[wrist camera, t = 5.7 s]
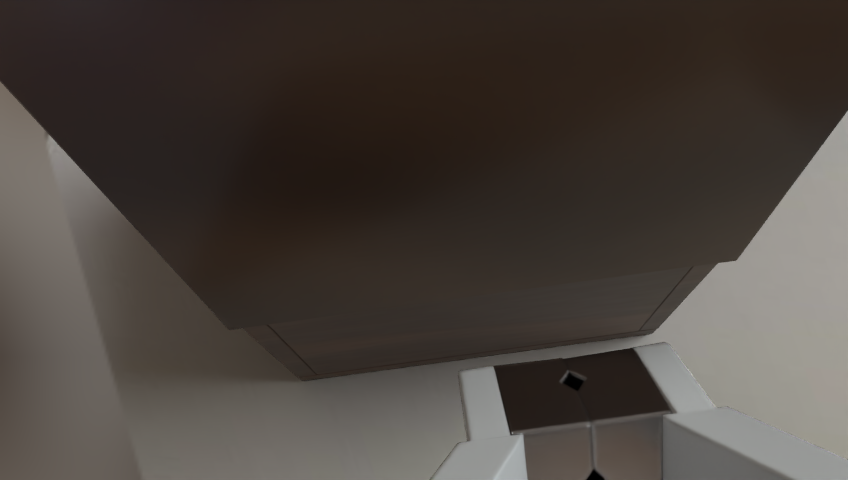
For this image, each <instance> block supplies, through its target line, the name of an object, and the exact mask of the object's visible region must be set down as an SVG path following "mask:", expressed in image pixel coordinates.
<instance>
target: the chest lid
mask: <svg viewBox="0 0 848 480" xmlns="http://www.w3.org/2000/svg"><path fill="white" fill-rule="evenodd" d="M0 82H1V83H2V84H3V85H4V86H5V87H6V88H7V89H8V90H9V92H10V93H11V94H12V95H13V96H14V97H15V98H16V99H17V100H18V101H19V102H20V103H21V104H22V105H23V107H24V108H25V109H26V110H27V111H28V112H29V113H30V114H31V115H32V117H34V119H35V120H36V121H37V122H38V123H39V124H40V125H41V126H42V127H43V128H44V130H45V131H46V132H47V133H48V134H49V135H50V136H51V137H52V138H53V139H54V140H55V141H56V143H57V144H58V145H59V146H60V147H61V148H62V149H63V150H64V151H65V152H66V153H67V155H68V156H69V157H70V158H71V159H72V160H73V161H74V162H75V163H76V164H77V165H78V166H79V168H80V169H81V170H82V171H83V172H84V173H85V174H86V175H87V176H88V177H89V178H90V179H91V181H92V182H93V183H94V184H95V185H96V186H97V187H98V188H99V189H100V190H101V191H102V192H103V194H104V195H105V196H106V197H107V198H108V199H109V200H110V201H111V202H112V203H113V204H114V206H115V207H116V208H117V209H118V210H119V211H120V212H121V213H122V214H123V215H124V216H125V217H126V219H127V220H128V221H129V222H130V223H131V224H132V225H133V226H134V227H135V228H136V229H137V230H138V232H139V233H140V234H141V235H142V236H143V237H144V238H145V239H146V240H147V241H148V242H149V244H150V245H151V246H152V247H153V248H154V249H155V250H156V251H157V252H158V253H159V254H160V255H161V257H162V258H163V259H164V260H165V261H166V262H167V263H168V264H169V265H170V266H171V267H172V268H173V270H174V271H175V272H176V273H177V274H178V275H179V276H180V277H181V278H182V279H183V280H184V282H185V283H186V284H187V285H188V286H189V287H190V288H191V289H192V290H193V291H194V292H195V293H196V295H197V296H198V297H199V298H200V299H201V300H202V301H203V302H204V303H205V304H206V305H207V306H208V308H209V309H210V310H211V311H212V312H213V313H214V314H215V315H216V316H217V317H218V318H219V320H220V321H221V322H222V323H223V324H224V325H225V326H226V327H227V328H228V329H229V330H232V329H239V328H247V327H254V326H261V325H269V324H276V323H283V322H291V321H298V320H305V319H312V318H320V317H327V316H334V315H342V314H349V313H356V312H364V311H371V310H378V309H385V308H393V307H400V306H407V305H415V304H422V303H429V302H437V301H444V300H451V299H458V298H466V297H473V296H480V295H488V294H495V293H502V292H510V291H517V290H524V289H531V288H539V287H546V286H553V285H561V284H568V283H575V282H583V281H590V280H597V279H604V278H612V277H619V276H626V275H634V274H641V273H648V272H656V271H663V270H670V269H677V268H685V267H692V266H699V265H707V264H714V263H721V262H729V261H736V260H737V259H738V258H739V256H740V255H741V254H742V252H743V251H744V250H745V248H746V247H747V246H748V244H749V243H750V242H751V240H752V239H753V237H754V236H755V235H756V233H757V232H758V231H759V229H760V228H761V227H762V225H763V224H764V223H765V221H766V220H767V219H768V217H769V216H770V215H771V213H772V212H773V211H774V209H775V208H776V206H777V205H778V204H779V202H780V201H781V200H782V198H783V197H784V196H785V194H786V193H787V192H788V190H789V189H790V188H791V186H792V185H793V184H794V182H795V181H796V180H797V178H798V177H799V176H800V174H801V173H802V171H803V170H804V169H805V167H806V166H807V165H808V163H809V162H810V161H811V159H812V158H813V157H814V155H815V154H816V153H817V151H818V150H819V149H820V147H821V146H822V145H823V143H824V142H825V140H826V139H827V138H828V136H829V135H830V134H831V132H832V131H833V130H834V128H835V127H836V126H837V124H838V123H839V122H840V120H841V119H842V118H843V116H844V115H845V114H846V112H847V111H848V0H0Z"/></svg>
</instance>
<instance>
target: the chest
mask: <svg viewBox="0 0 848 480" xmlns="http://www.w3.org/2000/svg"><path fill="white" fill-rule="evenodd" d="M717 264H718V263H714V264H707V265H699V266H692V267H685V268H677V269H670V270H663V271H656V272H648V273H641V274H634V275H626V276H619V277H612V278H604V279H597V280H590V281H583V282H575V283H568V284H561V285H553V286H546V287H539V288H531V289H524V290H517V291H510V292H502V293H495V294H488V295H480V296H473V297H466V298H458V299H451V300H444V301H437V302H429V303H422V304H415V305H407V306H400V307H393V308H385V309H378V310H371V311H364V312H356V313H349V314H342V315H334V316H327V317H320V318H312V319H305V320H298V321H291V322H283V323H276V324H269V325H261V326H254V327H247V328H242V329H244V330H245V331H246V332H247V333H248V334H249V335H250V336H252V337H253V338H254V339H255V340H256V341H257V342H258V343H259V344H261V345H262V346H263V347H264V348H265V349H266V350H267V351H269V352H270V353H271V354H272V355H273V356H274V357H275V358H276V359H278V360H279V361H280V362H281V363H282V364H283V365H284V366H285V367H287V368H288V369H289V370H290V371H291V372H292V373H293V374H295V375H296V376H297V377H298V378H300V379H301V380H302V381H307V380H314V379H321V378H329V377H336V376H343V375H351V374H358V373H365V372H373V371H380V370H387V369H395V368H402V367H410V366H417V365H424V364H432V363H439V362H446V361H454V360H461V359H468V358H476V357H483V356H490V355H498V354H505V353H512V352H520V351H527V350H534V349H542V348H549V347H557V346H564V345H571V344H579V343H586V342H593V341H601V340H608V339H615V338H623V337H630V336H637V335H645V334H652V333H654V331H655V330H656V329H657V328H659V327H660V325H661V324H662V323H663V322H664V321H665V320H666V319H667V318H668V317H669V316H670V315H671V313H672V312H673V311H674V310H675V309H676V308H677V307H678V306H679V305H680V304H681V303H682V302H683V300H684V299H685V298H686V297H687V296H688V295H689V294H690V293H691V292H692V291H693V290H694V289H695V287H696V286H697V285H698V284H699V283H700V282H701V281H702V280H703V279H704V278H705V277H706V275H707V274H708V273H709V272H710V271H711V270H712V269H713V268H714V267H715V266H716V265H717Z"/></svg>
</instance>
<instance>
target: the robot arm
mask: <svg viewBox="0 0 848 480" xmlns="http://www.w3.org/2000/svg"><path fill="white" fill-rule="evenodd" d="M458 379H459V386H460V394H461V401H462V409H463V416H464V423H465V431H466V438H467V442H460V443H457V444H456V446H455V447H454V448H453V450H452V451H451V452H450V454H449V455H448V456H447V458H446V459H445V460H444V462H443V463H442V464H441V465H440V467H439V468H438V469H437V471H436V472H435V473H434V475H433V476H432V477H431V479H430V480H848V459H846V458H843V457H841V456H839V455H837V454H834V453H832V452H830V451H827V450H825V449H823V448H821V447H818V446H816V445H814V444H812V443H809V442H807V441H805V440H802V439H800V438H798V437H796V436H793V435H791V434H789V433H786V432H784V431H782V430H780V429H777V428H775V427H773V426H771V425H768V424H766V423H764V422H761V421H759V420H757V419H755V418H752V417H750V416H748V415H746V414H743V413H741V412H739V411H736V410H734V409H732V408H730V407H720V408H716V406H715V405H714V404H713V402H712V401H711V400H710V398H709V397H708V395H707V394H706V393H705V391H704V390H703V389H702V387H701V386H700V385H699V383H698V382H697V380H696V379H695V378H694V376H693V375H692V374H691V372H690V371H689V370H688V368H687V367H686V365H685V364H684V363H683V361H682V360H681V359H680V357H679V356H678V355H677V353H676V352H675V350H674V349H673V348H672V346H671V345H670V344H668V343H665V342H662V343H656V344H651V345H645V346H639V347H633V348H630V349H623V350H617V351H611V352H604V353H598V354H592V355H586V356H579V357H573V358H567V359H562V358H559V359H550V360H542V361H533V362H524V363H516V364H507V365H498V366H494V368H493V367H492V366H488V367H481V368H474V369H467V370H460V371H458Z"/></svg>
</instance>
